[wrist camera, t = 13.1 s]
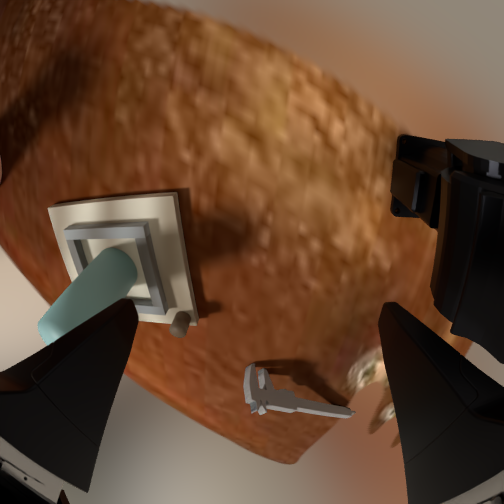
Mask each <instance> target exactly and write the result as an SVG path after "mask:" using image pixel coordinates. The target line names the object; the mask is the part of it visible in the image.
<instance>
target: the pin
mask: <svg viewBox="0 0 504 504" xmlns="http://www.w3.org/2000/svg"><path fill="white" fill-rule="evenodd" d="M136 280H137V268H136V266H135V264H134V262H133V260H132V259H131V258H130V257H129V256H128V255H127V254H126V253H125V252H123V251H122V250H119V249H117V248H106V249H104V250H102V251H101V252H100V253H99V255H98V256H97V257H96V258H95V259H94V260H93V261H92V262H91V263H90V264H89V265H88V266H87V267H86V268H85V269H84V270H83V271H82V272H81V273H80V274H79V275H78V277H77V278H76V279H75V280H74V281H73V282H72V283H71V284H70V285H69V286H68V288H67V289H66V290H65V291H64V292H63V293H62V294H61V296H60V297H59V298H58V299H57V300H56V301H55V302H54V304H53V305H52V306H51V307H50V308H49V310H48V311H47V312H46V314H45V315H44V316H43V317H42V318H41V319H40V321H39V322H38V331H39V333H40V335H41V337H42V339H43V340H44V342H45V343H46V344H47V345H49V344H50V343H52V342H54V341H55V340H57V339H58V338H60V337H61V336H63V335H64V334H66V333H67V332H69V331H70V330H72V329H74V328H75V327H77V326H78V325H80V324H81V323H83V322H84V321H86V320H88V319H89V318H91V317H92V316H94V315H95V314H97V313H99V312H100V311H102V310H103V309H105V308H107V307H108V306H110V305H111V304H113V303H115V302H116V301H118V300H119V299H121V298H125V297H126V295H127V294H128V292H129V291H130V289H131V288H132V287H133V285H134V284H135V282H136Z"/></svg>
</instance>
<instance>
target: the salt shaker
mask: <svg viewBox="0 0 504 504" xmlns="http://www.w3.org/2000/svg"><path fill="white" fill-rule="evenodd" d="M1 176H2V163H1V157H0V183H1Z"/></svg>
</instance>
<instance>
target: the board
mask: <svg viewBox="0 0 504 504" xmlns="http://www.w3.org/2000/svg"><path fill="white" fill-rule="evenodd" d="M48 211H49V215H50V218H51V222H52V225H53V229H54V232H55V235H56V239H57V242H58V245H59V248H60V251H61V254H62V257H63V259H64V262H65V265H66V268H67V270H68V273H69V276H70V278H71V281H72V282H73V281H74V280H75V279H76V278H77V277H78V275H79V274H80V273H81V272H82V271H83V270H84V269H85V268H86V267H87V266H88V265H89V264H90V263H91V262H92V261H93V260H94V259H95V258H96V257H97V256H98V255H99V253H100V252H101V251H102V250H104V249H106V248H117V249H119V250H122V251H123V252H125V253H126V254H127V255H128V256H129V257H130V258H131V259H132V260H133V262H134V264H135V266H136V268H137V280H136V282H135V284H134V285H133V287H132V288H131V289H130V291H129V292H128V294H127V295H126V297H125V298H130V299H132V300H133V301H134V304H135V307H136V310H137V313H138V316H139V321H148V322H158V323H169V324H171V326H170V329H169V330H170V333H171V334H172V335H173V336H175V337H178V338H182V337H185V335H186V333H187V330H188V327H189V325H194V326H197V323H198V320H199V317H198V312H197V307H196V302H195V297H194V292H193V287H192V282H191V276H190V271H189V265H188V260H187V254H186V248H185V242H184V236H183V229H182V223H181V216H180V209H179V202H178V194H177V192H169V193H155V194H142V195H130V196H120V197H110V198H101V199H92V200H83V201H76V202H68V203H61V204H54V205H52V206H51V207H49V208H48Z"/></svg>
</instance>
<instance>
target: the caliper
mask: <svg viewBox="0 0 504 504" xmlns="http://www.w3.org/2000/svg"><path fill="white" fill-rule="evenodd" d="M258 375H259V376H258V379H259V385H260V388H258V382H257V376H256V369H255V364H254V363H253V364H251V365H249V366H248V367H246V370H245V378H244V393H245V400H246V403H249V404H250V406H251V413H253V412H255V411H258V412H259V414H260V415H262V414H264V413H266V412H267V409H272V410H278V411H283V412H289V413H292V412H294V411H299V412H305V413H311V414H317V415H324V416H331V417H339V418H349V417H351V416H352V415H353V414H355V413H356V412H355V411H351V409H350V408H348V407H347V408H346V407H341V406H336V405H330V404H324V403H320V402H315V401H310V400H306V399H301V398H297V397H295V395H294V392H293V391H287V390H286V389H281V390H275V389H274V387H273V384H272V382H271V379H270V377H269V374H268V372H267V370H266V369H264V368H263V369H261V370H259V371H258Z"/></svg>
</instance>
